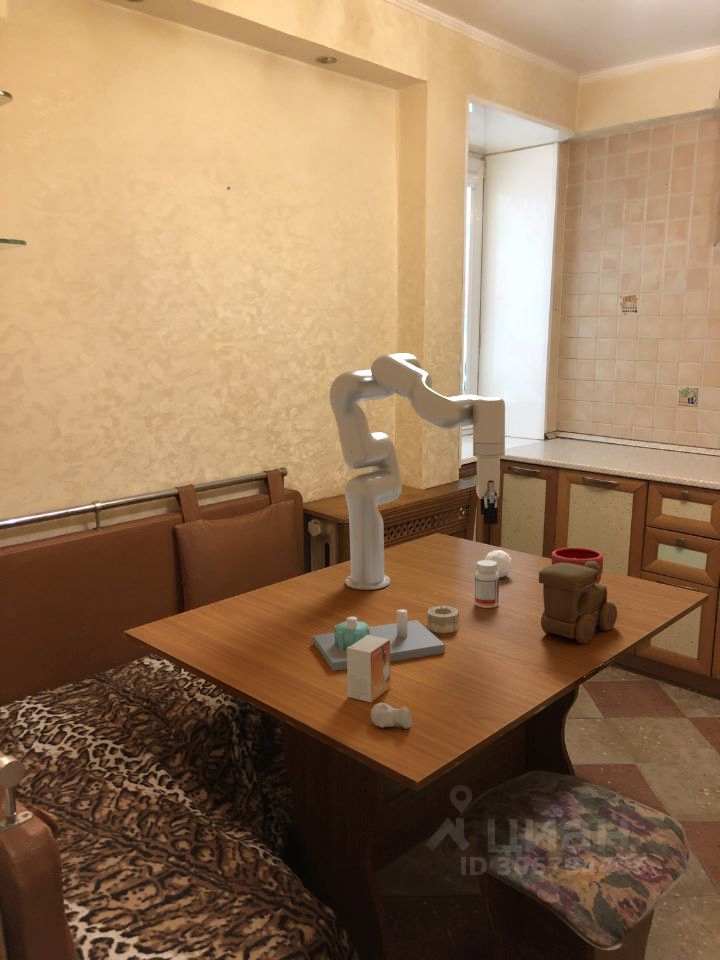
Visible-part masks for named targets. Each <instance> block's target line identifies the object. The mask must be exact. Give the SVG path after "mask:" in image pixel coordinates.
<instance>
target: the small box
mask: <svg viewBox="0 0 720 960" xmlns="http://www.w3.org/2000/svg"><path fill="white" fill-rule="evenodd" d="M346 671H347V673H346V675H347V697H348V698H351V699H354V700H360V701H364V702H367V703H373V702H374V701H375V700H376V699H377V698H379V697H380V696H381V695H383V694H384V693H385V692H386V691H388V690H390V689H391V687H392V686H391V685H392V684H391V681H392V680H391V662H390V640H389V639H385V638H381V637H376V636H371V635H366V636H365V637H364V638H362V639H361V640H359V641H357V642H356V643H354V644H353V645H351V646H349V647H347V669H346Z"/></svg>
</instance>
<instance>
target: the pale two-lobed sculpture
mask: <svg viewBox="0 0 720 960" xmlns="http://www.w3.org/2000/svg"><path fill="white" fill-rule="evenodd" d="M412 718H413V717H412V712H411V711H410V710H409V708H407V707H406V706H403V707H402V708H394V707H392V706H391V705H389V704H388V703H385V702H378V703H375V704H374V705H373V707H372V708H371V711H370V719H371V722H372V723H373V724H374V726H376V727H378V728H379V727H380V728H388V727H391V728H392V727H394V726H395V725H400V726H402V727H403V728H404V729H405V730H406V729H409V728H410V727H412V723H413V720H412Z"/></svg>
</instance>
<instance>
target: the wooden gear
mask: <svg viewBox="0 0 720 960" xmlns="http://www.w3.org/2000/svg"><path fill="white" fill-rule="evenodd" d="M426 613H427V614H426V620H427V621H426V623H427V624H426V628H427V629H428V630H429V631H430V632H434V633H438V634H449V633H454V632H457V631H459V630H458V629H459V626H460V625H459V623H460V622H459V621H460V619H459V616H460V615H459V613H460V610H459V609H458V608H455V607H452V606H447V605H439V606H430V607H429V608H428V610H427V612H426Z"/></svg>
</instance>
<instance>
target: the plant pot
mask: <svg viewBox="0 0 720 960" xmlns="http://www.w3.org/2000/svg"><path fill="white" fill-rule="evenodd" d="M587 561H595V562H597V564H598V565H599V567H600V568H601V570H602V571H601V573H600V575H599V577H598V582H596V583H597V584H600V582H601V579H602V574H603V570H604V569H603V568H604V555H603V553H602V552H600V551H598V550H596V549H591V548H585V547H584V548H582V547H562V548H558V549H555V550H553V551H552V552H551V565H553V564H557V563H570V564H576V565H580V566H584V565H585V563H586V562H587Z"/></svg>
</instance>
